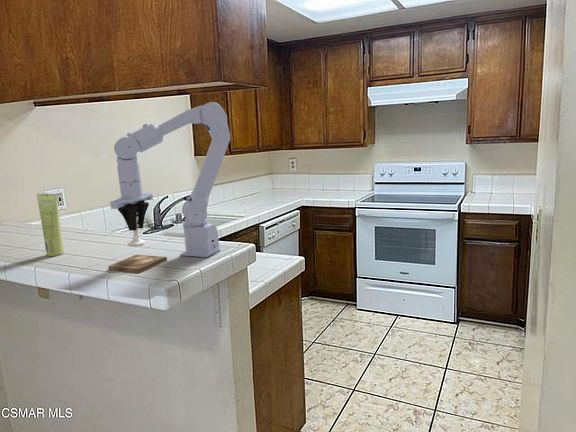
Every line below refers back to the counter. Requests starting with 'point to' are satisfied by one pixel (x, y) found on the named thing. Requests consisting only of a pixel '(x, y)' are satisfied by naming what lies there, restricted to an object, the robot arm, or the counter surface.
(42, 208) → the tube
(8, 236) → the counter surface
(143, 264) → the pedestal
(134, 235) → the chess piece
